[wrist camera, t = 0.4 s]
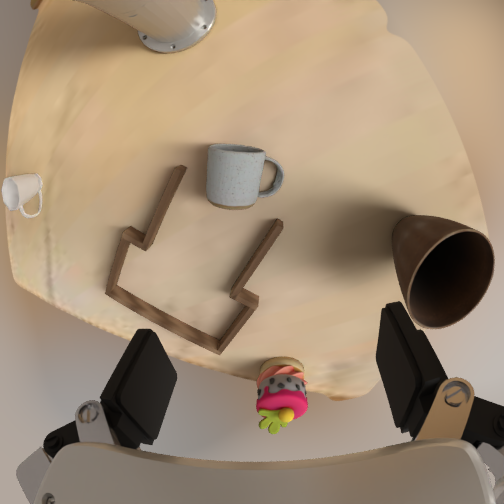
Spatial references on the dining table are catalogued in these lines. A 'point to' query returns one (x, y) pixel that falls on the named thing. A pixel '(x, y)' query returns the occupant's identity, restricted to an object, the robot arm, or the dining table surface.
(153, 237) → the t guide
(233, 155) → the ceramic mug
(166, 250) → the dining table surface
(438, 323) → the plant pot
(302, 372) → the cake
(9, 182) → the cup
